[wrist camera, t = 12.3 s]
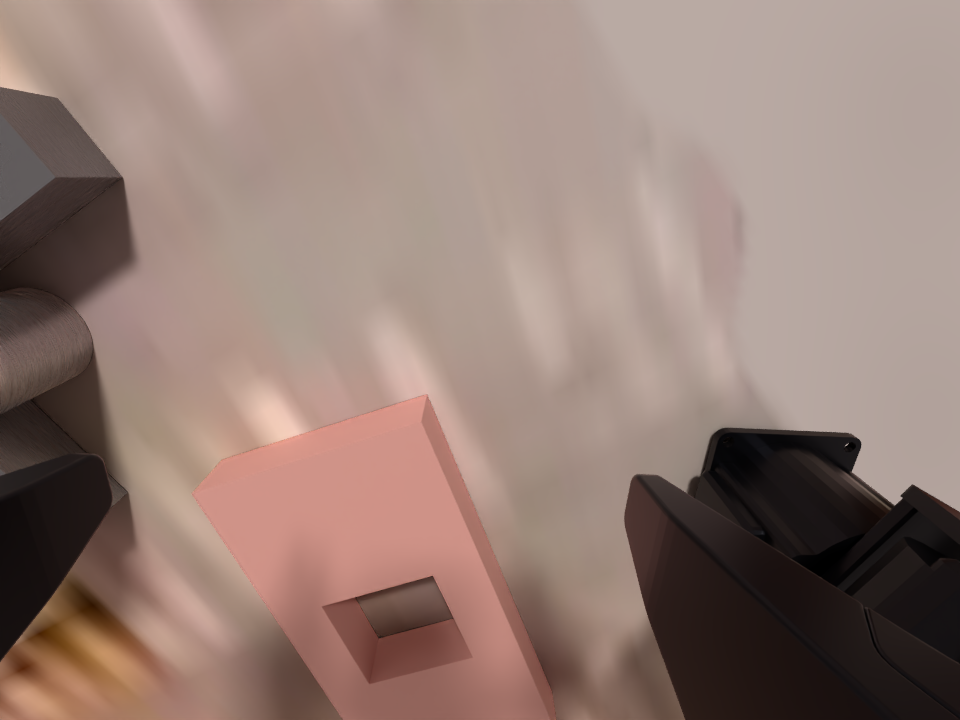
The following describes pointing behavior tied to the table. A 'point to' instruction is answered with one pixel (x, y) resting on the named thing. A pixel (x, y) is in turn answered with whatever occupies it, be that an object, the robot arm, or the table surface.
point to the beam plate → (379, 568)
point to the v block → (41, 232)
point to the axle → (38, 344)
